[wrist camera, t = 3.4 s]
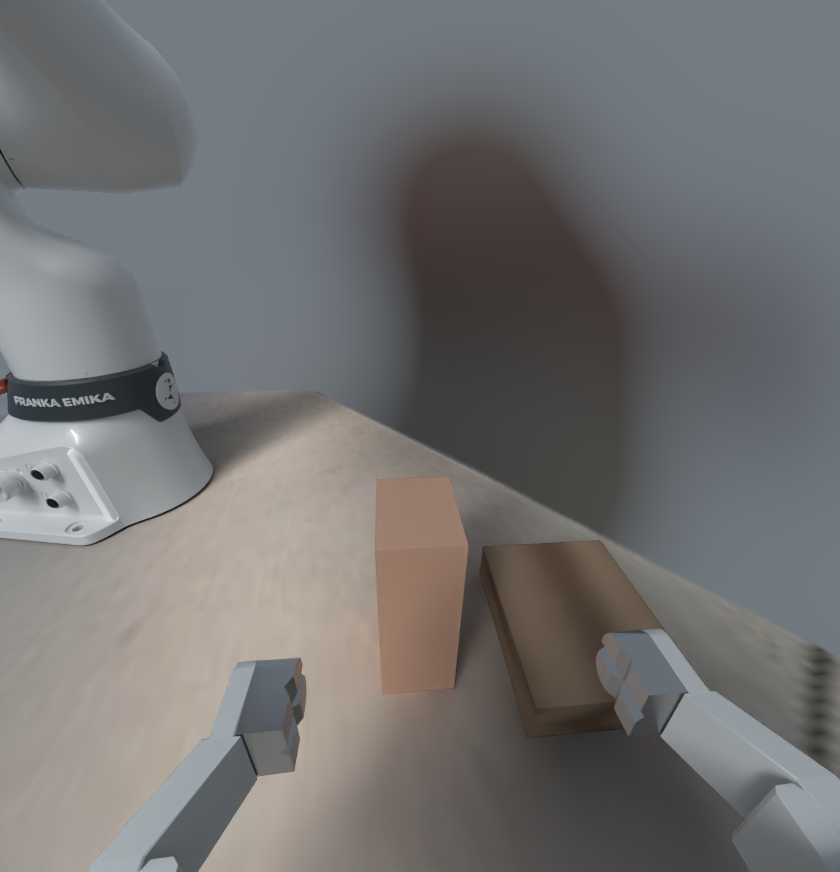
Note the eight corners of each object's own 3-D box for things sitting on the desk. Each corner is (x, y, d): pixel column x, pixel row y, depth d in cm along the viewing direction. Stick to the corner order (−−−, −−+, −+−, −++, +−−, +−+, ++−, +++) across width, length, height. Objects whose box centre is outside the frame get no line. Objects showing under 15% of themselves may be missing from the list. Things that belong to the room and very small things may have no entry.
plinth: (527, 737, 21) (536, 708, 20) (479, 572, 32) (483, 546, 31) (691, 721, 22) (710, 692, 21) (592, 566, 33) (600, 540, 32)
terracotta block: (382, 694, 23) (375, 550, 18) (382, 610, 29) (376, 479, 23) (454, 688, 24) (468, 545, 18) (440, 606, 29) (449, 476, 24)
